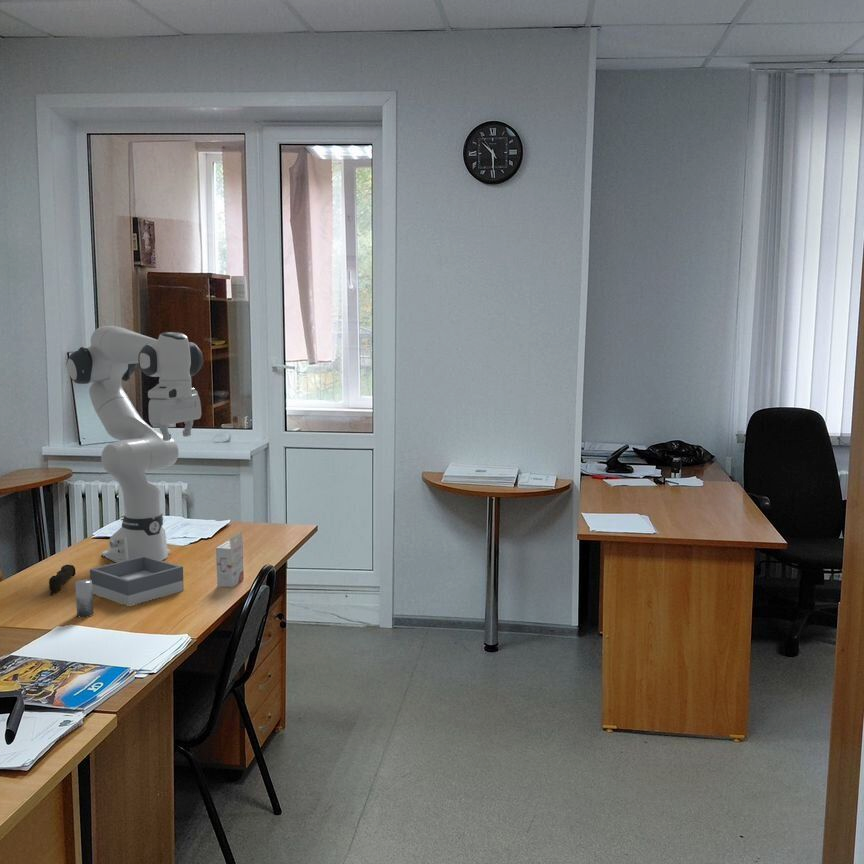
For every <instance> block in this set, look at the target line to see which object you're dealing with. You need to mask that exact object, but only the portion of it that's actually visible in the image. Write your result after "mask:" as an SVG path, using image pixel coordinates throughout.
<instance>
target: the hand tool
mask: <svg viewBox="0 0 864 864" xmlns="http://www.w3.org/2000/svg"><path fill="white" fill-rule="evenodd" d="M75 575H76V568H75V565H72V564H64V565H62V566H61V568H60V570H59V571H56V575H52V576H51V577H50V578H48V579H49V580H48V584H49V585H48V588H49V592H50V593H49V594H50V595H49V596H53V595H56V594H57V593H59V592H60V591H62V587H63V585H65V584H66V583H67V582H68V581H69V579H71V578H72V577H71V576H74V577H75ZM58 591H59V592H58Z"/></svg>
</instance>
